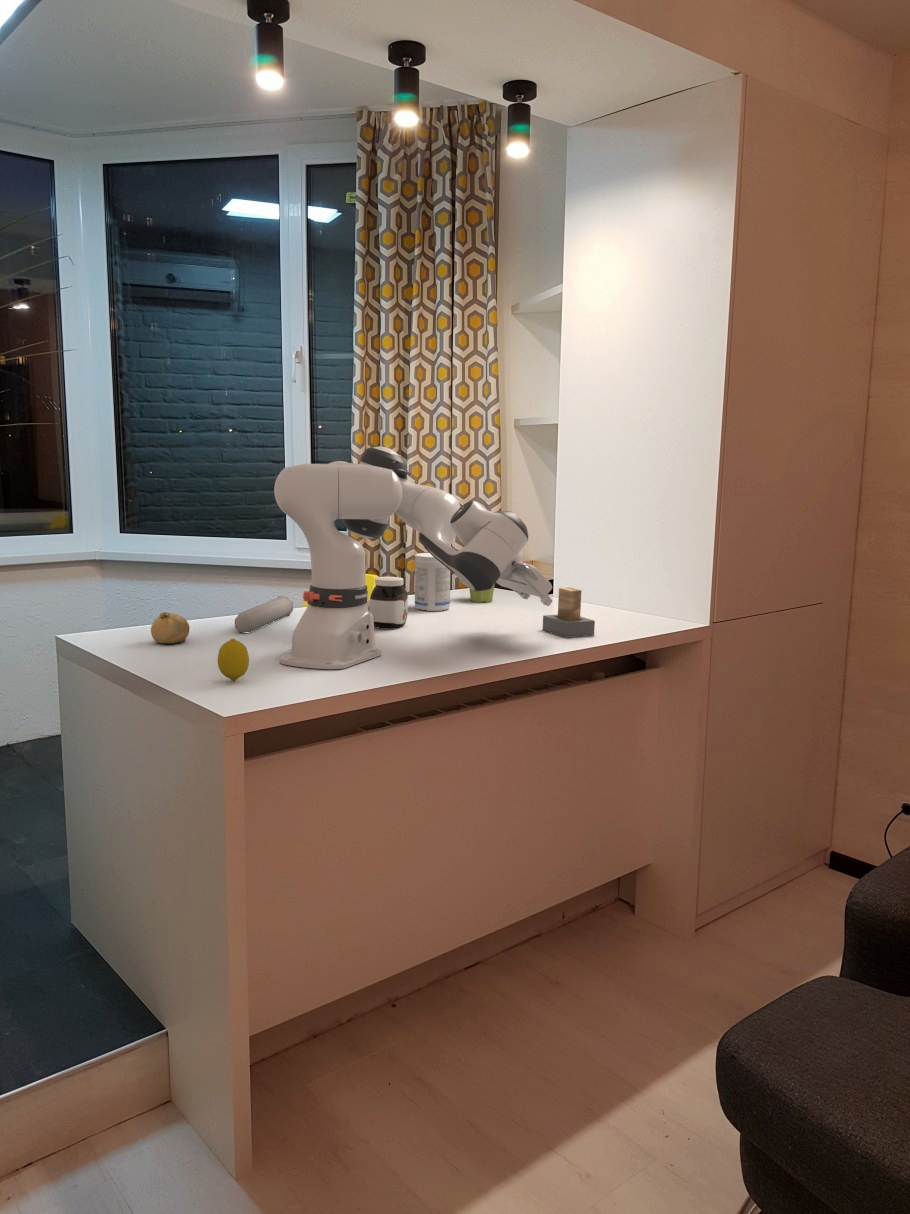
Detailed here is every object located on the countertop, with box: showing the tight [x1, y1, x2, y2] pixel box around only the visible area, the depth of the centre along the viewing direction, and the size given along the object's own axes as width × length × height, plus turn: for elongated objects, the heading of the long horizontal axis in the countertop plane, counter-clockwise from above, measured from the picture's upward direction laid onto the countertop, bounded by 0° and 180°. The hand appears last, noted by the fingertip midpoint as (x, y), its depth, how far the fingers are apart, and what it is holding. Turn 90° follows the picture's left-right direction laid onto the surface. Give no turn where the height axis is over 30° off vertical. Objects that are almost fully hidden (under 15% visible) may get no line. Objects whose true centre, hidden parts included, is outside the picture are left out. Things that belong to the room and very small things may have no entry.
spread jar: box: [366, 576, 409, 629], centre depth 222 cm, size 12×11×12 cm
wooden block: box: [557, 586, 582, 621], centre depth 218 cm, size 3×5×10 cm, turn 28°
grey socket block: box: [542, 613, 596, 638], centre depth 219 cm, size 8×10×4 cm
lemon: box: [217, 638, 250, 682], centre depth 166 cm, size 6×6×8 cm
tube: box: [234, 595, 294, 633], centre depth 220 cm, size 5×5×25 cm
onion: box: [150, 611, 190, 644], centre depth 197 cm, size 8×8×7 cm
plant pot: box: [468, 583, 496, 603], centre depth 260 cm, size 9×9×9 cm
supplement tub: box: [414, 552, 451, 612], centre depth 245 cm, size 10×10×15 cm
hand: (537, 600), depth 213 cm, fingers open, 8 cm apart
